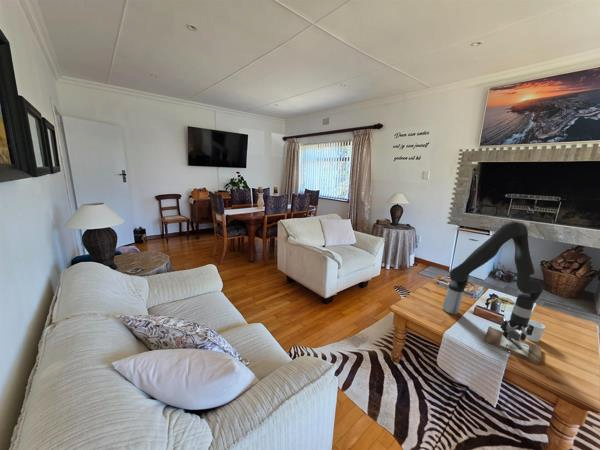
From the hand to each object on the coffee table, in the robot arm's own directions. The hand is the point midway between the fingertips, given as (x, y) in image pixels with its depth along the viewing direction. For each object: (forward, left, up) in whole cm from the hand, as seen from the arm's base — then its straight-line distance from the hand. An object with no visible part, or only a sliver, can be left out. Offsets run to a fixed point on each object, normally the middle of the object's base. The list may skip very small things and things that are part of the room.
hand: (513, 338), depth 139 cm
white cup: (+8, +19, -6) cm, 21 cm away
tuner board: (0, +1, -5) cm, 5 cm away
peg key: (0, +2, -3) cm, 4 cm away
